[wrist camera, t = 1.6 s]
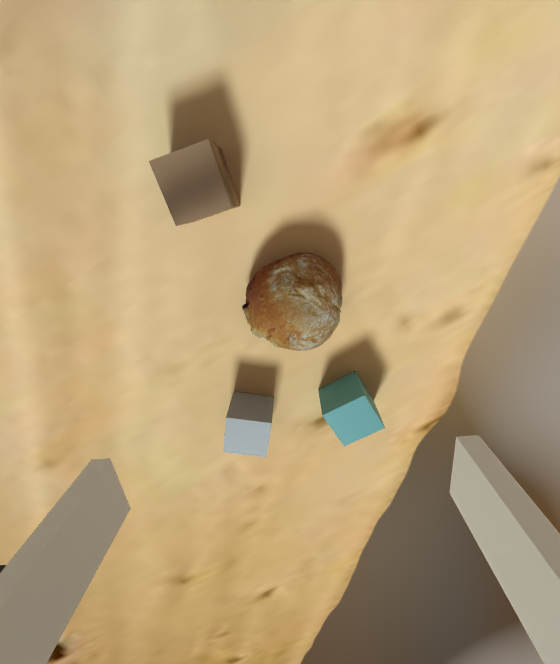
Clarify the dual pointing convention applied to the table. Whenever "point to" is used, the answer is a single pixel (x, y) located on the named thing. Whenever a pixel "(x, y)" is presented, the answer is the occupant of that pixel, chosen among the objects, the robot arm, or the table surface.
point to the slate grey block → (248, 424)
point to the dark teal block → (349, 409)
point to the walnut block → (195, 182)
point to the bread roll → (294, 302)
